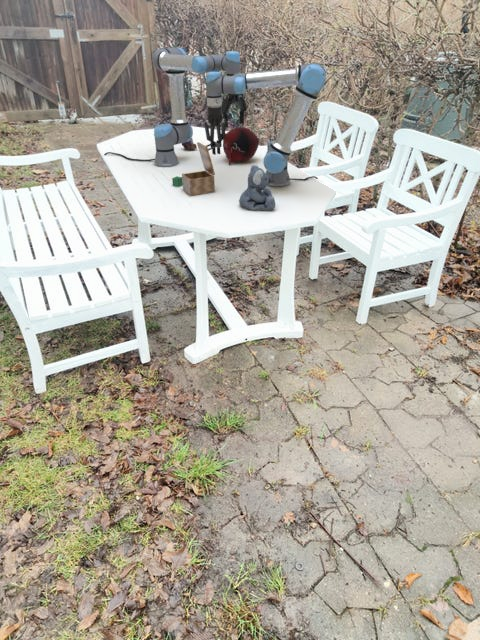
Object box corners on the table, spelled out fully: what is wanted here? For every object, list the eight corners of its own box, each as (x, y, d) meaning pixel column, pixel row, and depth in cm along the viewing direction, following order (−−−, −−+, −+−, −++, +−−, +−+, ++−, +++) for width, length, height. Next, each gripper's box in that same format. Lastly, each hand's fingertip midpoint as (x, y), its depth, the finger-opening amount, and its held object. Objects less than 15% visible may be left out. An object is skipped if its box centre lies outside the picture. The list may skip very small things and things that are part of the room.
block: (178, 186, 255) (177, 179, 253) (172, 185, 257) (172, 178, 255) (183, 184, 258) (182, 177, 256) (177, 183, 260) (176, 176, 258)
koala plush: (276, 211, 223) (277, 171, 212) (240, 212, 222) (240, 172, 211) (271, 199, 237) (272, 161, 226) (237, 200, 236) (237, 162, 225)
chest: (190, 196, 242) (189, 179, 238) (183, 189, 251) (181, 173, 246) (214, 192, 248) (214, 176, 243) (206, 185, 256) (205, 170, 252)
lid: (205, 147, 232) (220, 141, 234) (196, 143, 241) (212, 136, 243) (213, 175, 242) (228, 168, 244) (204, 169, 251) (219, 163, 253)
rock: (192, 148, 330) (179, 150, 326) (190, 136, 327) (178, 137, 323) (198, 149, 321) (185, 151, 317) (197, 136, 317) (184, 137, 313)
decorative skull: (219, 133, 304) (219, 130, 280) (253, 125, 303) (256, 122, 279) (226, 165, 310) (227, 165, 287) (260, 158, 310) (263, 157, 286)
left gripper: (222, 87, 238) (223, 129, 250) (253, 82, 253) (253, 122, 265) (212, 85, 242) (214, 127, 254) (243, 81, 257) (243, 121, 269)
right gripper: (203, 108, 224) (206, 157, 237) (231, 106, 230) (231, 153, 243) (198, 106, 230) (200, 154, 243) (224, 104, 235) (226, 150, 248)
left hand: (233, 125), depth 259 cm, fingers open, 13 cm apart
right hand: (216, 153), depth 243 cm, fingers closed on lid, 2 cm apart
